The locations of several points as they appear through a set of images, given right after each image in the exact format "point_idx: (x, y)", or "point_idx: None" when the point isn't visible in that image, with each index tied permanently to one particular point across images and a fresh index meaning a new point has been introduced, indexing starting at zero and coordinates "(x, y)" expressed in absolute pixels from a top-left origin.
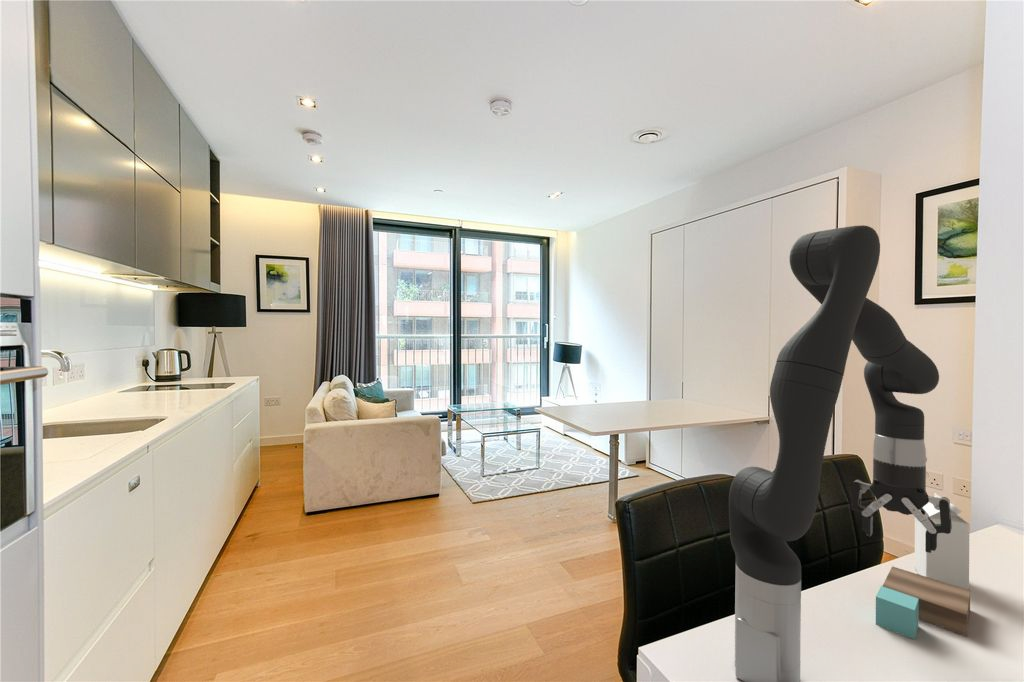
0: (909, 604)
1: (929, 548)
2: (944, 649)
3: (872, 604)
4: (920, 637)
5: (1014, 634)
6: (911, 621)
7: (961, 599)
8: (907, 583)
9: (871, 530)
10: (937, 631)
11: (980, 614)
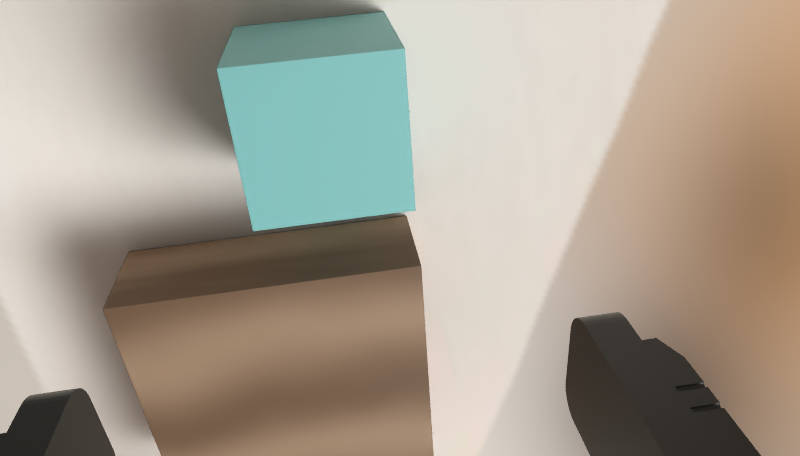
0: (258, 118)
1: (19, 428)
2: (131, 56)
3: (435, 188)
4: None
5: None
6: (238, 47)
7: (171, 419)
8: (352, 379)
9: (592, 394)
10: (204, 191)
11: None
